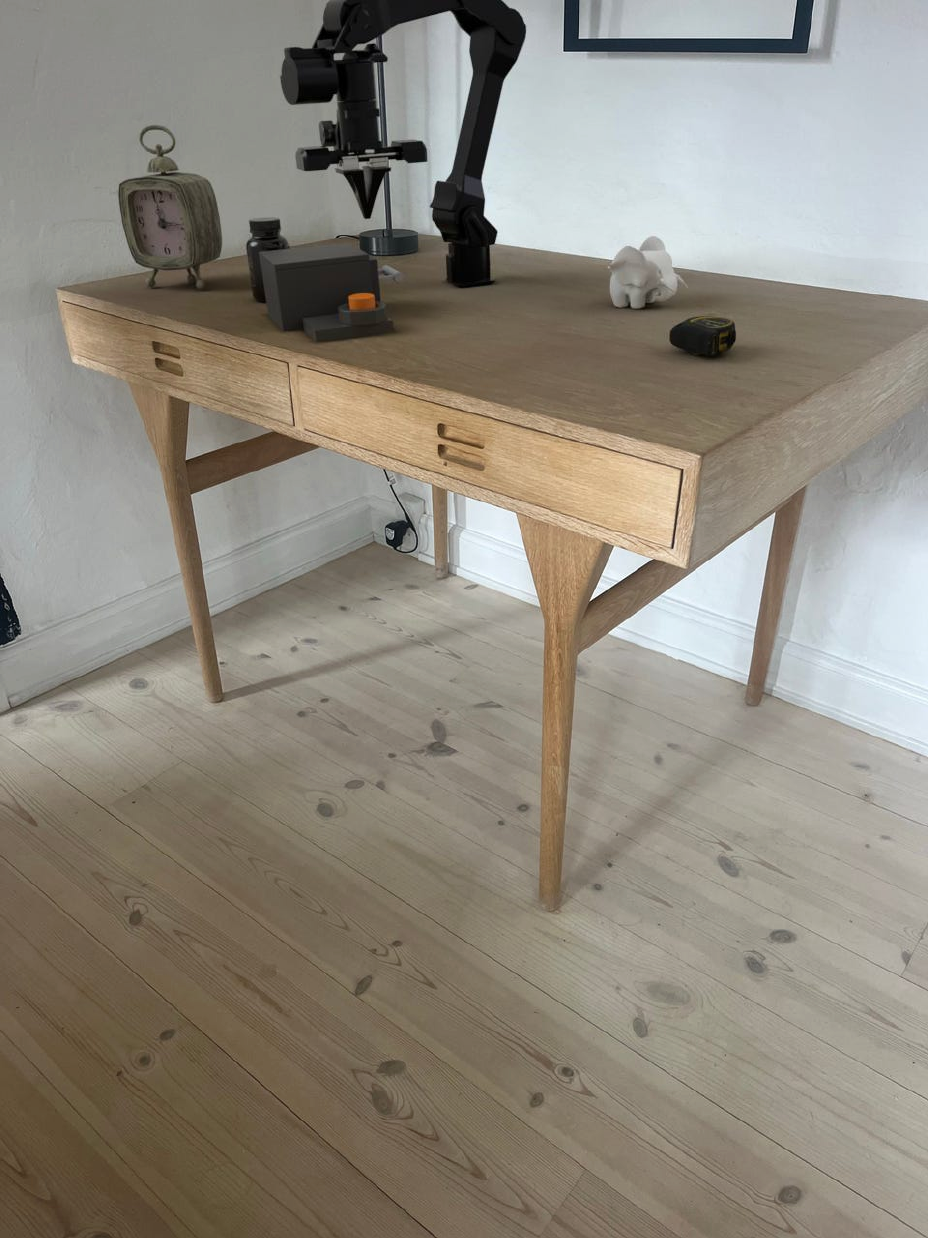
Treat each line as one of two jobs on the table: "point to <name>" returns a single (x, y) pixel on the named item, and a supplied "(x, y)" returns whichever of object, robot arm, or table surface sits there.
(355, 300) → the button
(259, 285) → the supplement bottle
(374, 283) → the box with white handle
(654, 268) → the elephant figurine
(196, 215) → the tabletop clock
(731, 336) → the tape measure
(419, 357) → the table surface
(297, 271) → the grey lidded box
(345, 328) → the pad
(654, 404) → the table surface
